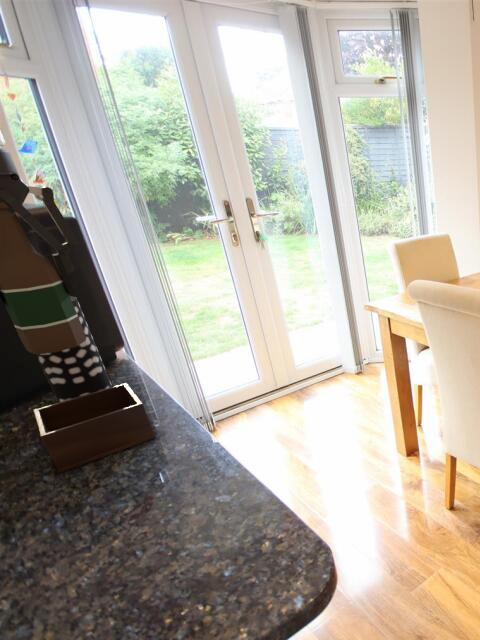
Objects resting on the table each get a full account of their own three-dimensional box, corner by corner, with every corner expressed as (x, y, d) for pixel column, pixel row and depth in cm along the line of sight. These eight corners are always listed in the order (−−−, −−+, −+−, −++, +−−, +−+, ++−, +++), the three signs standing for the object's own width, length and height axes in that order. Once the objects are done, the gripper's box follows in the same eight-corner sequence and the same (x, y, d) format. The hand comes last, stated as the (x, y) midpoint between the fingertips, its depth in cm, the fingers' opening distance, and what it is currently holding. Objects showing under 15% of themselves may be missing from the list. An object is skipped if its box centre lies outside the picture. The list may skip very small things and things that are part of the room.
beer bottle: (23, 359, 74) (-50, 204, 65) (29, 346, 79) (-37, 201, 70) (87, 346, 78) (26, 199, 69) (88, 334, 84) (32, 197, 75)
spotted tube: (59, 399, 92) (15, 303, 85) (111, 385, 97) (75, 294, 90) (60, 413, 86) (14, 312, 79) (116, 397, 92) (78, 301, 84)
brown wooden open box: (49, 444, 77) (33, 409, 74) (138, 414, 85) (126, 382, 83) (59, 473, 69) (40, 436, 67) (155, 437, 78) (142, 403, 75)
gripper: (-149, 148, 58) (-58, 319, 66) (68, 146, 72) (119, 287, 80) (-140, 150, 63) (-57, 310, 71) (62, 148, 77) (111, 281, 85)
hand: (37, 298), depth 76 cm, fingers closed on beer bottle, 8 cm apart
